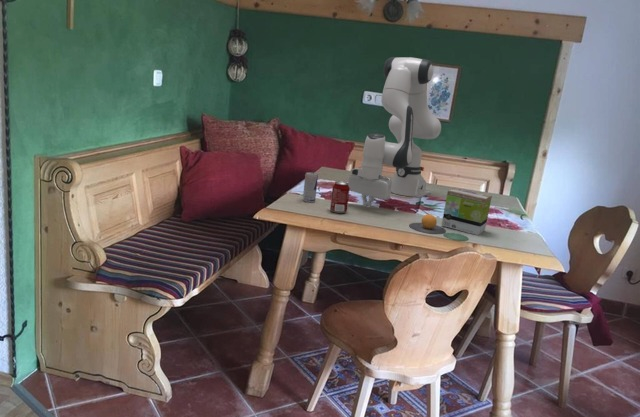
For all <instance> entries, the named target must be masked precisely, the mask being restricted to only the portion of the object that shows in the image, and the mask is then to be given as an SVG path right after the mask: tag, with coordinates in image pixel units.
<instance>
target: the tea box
mask: <svg viewBox="0 0 640 417" xmlns="http://www.w3.org/2000/svg"><path fill="white" fill-rule="evenodd" d="M492 197H493V195H491V194H486V193H482V192H477V191H473V190H467V189H464V188H459V187H454V188H452V189H450V190H447V195H446V199H445V205H444V210H443V215H442V219H441V221H442V222H441V227H443V228H449V229H453V230H457V231H461V232H464V233H468V234H472V235H475V236H479V235H480V234H482V233H484V232H485V231H486V227H487V222H488V217H489V213H490V208H491V203H492Z"/></svg>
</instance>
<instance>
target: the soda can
mask: <svg viewBox="0 0 640 417" xmlns="http://www.w3.org/2000/svg"><path fill="white" fill-rule="evenodd" d="M348 184H349V183H348V181H340V180H338V181H334V184H333V185H332V188H331V189H332V191H331V198H330V208H329V209H330V211H331V212H332V213H335V214H339V213H342V214H345V213H348V212H347V211H348V205H349V196H350V191H349V190H350V188H349V186H348Z"/></svg>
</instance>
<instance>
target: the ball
mask: <svg viewBox="0 0 640 417" xmlns="http://www.w3.org/2000/svg"><path fill="white" fill-rule="evenodd" d="M421 223H422V225H423V226H424V227H425V228H427V229H432V228H434V227H435V225H437V218H436V217H435V216H434V215H433V214H432V213H431V214H428V213H427V214H425V215H424V216H422V218H421Z"/></svg>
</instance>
